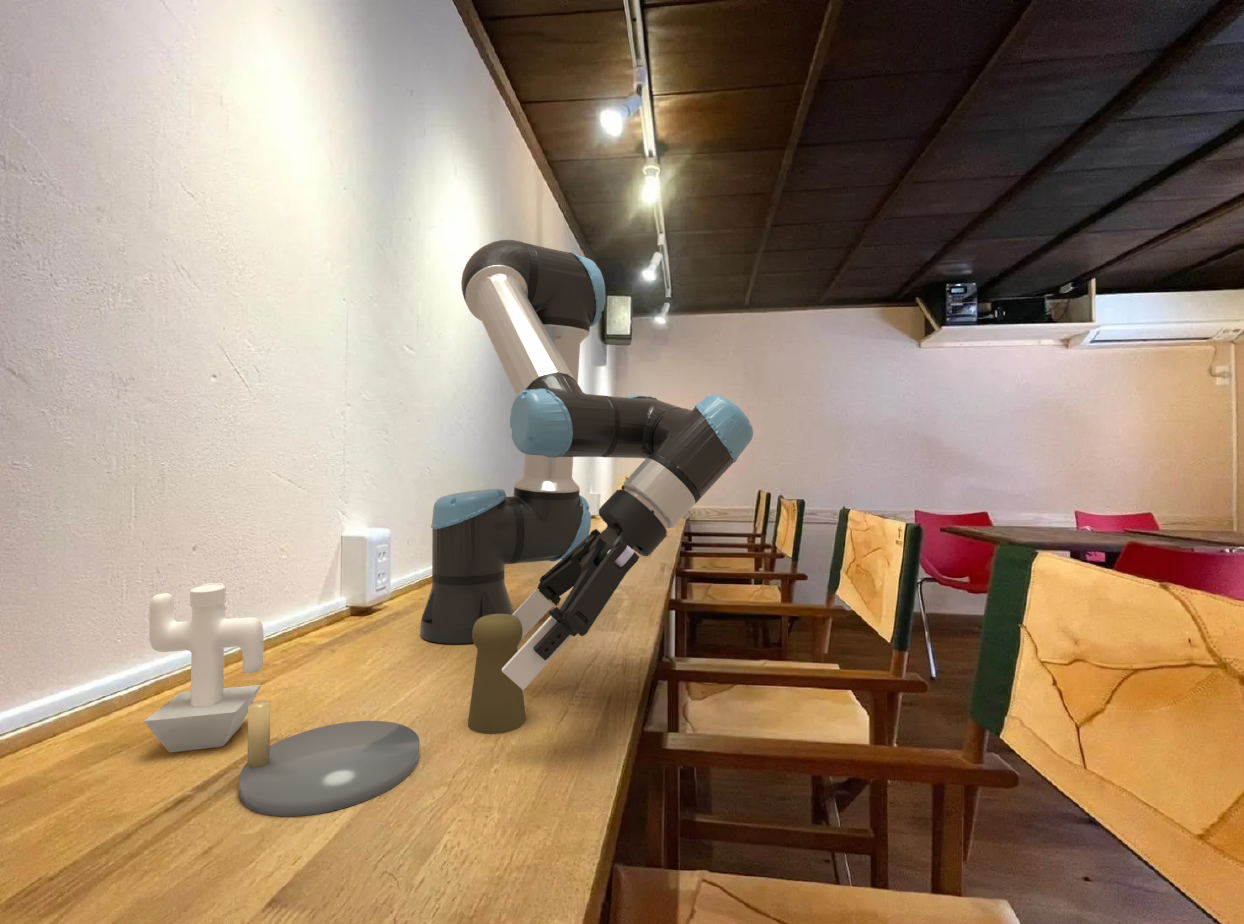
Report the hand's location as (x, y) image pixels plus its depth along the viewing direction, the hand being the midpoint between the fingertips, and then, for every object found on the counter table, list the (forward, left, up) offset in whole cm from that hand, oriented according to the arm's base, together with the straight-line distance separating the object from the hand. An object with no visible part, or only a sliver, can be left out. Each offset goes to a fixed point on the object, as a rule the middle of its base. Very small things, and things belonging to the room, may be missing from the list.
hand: (508, 657), depth 59 cm
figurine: (+6, -28, -7) cm, 30 cm away
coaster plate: (+10, -12, -7) cm, 17 cm away
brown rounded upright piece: (-1, -1, -7) cm, 7 cm away
